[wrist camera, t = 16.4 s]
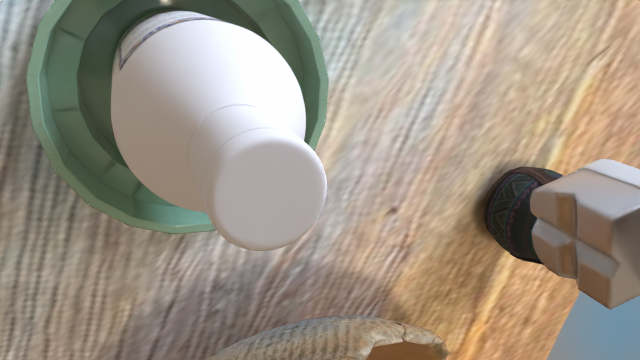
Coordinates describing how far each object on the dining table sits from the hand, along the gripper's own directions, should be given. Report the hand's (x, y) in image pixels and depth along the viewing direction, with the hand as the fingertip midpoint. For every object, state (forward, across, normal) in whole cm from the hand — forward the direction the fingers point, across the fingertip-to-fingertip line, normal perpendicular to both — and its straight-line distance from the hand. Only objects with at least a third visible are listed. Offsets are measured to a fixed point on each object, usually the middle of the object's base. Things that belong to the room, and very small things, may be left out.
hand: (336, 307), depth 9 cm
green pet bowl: (+24, 0, 0) cm, 24 cm away
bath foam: (+24, 0, 0) cm, 24 cm away
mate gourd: (+24, -22, +17) cm, 37 cm away
